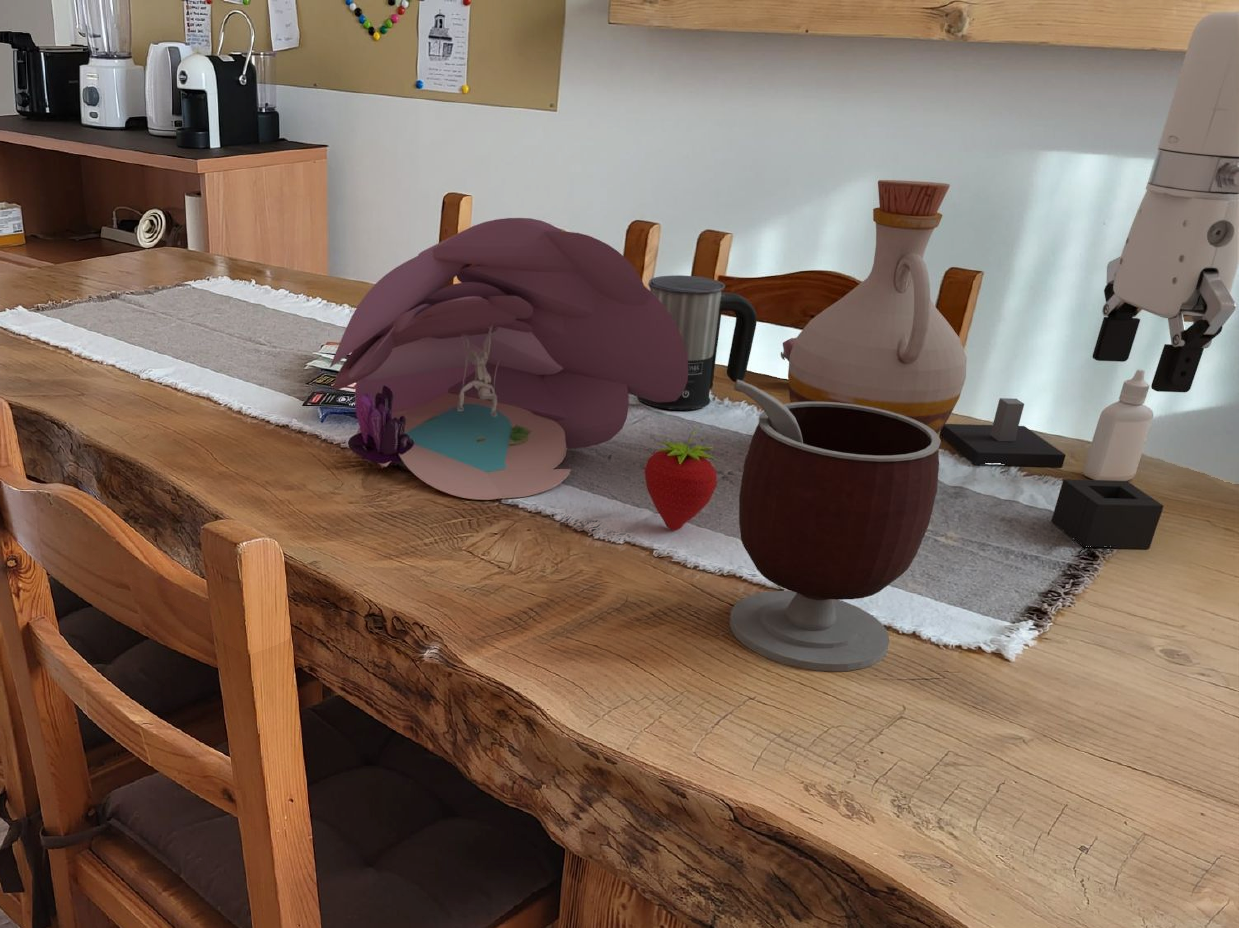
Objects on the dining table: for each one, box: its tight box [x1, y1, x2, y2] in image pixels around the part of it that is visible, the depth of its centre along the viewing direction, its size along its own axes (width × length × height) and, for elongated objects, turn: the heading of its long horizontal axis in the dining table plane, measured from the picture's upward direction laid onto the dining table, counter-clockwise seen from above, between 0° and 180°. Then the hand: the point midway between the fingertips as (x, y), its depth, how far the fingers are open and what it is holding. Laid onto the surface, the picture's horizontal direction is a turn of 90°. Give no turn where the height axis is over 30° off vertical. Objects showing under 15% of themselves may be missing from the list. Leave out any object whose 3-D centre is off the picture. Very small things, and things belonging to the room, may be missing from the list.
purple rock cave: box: [329, 217, 688, 501], centre depth 119 cm, size 35×24×28 cm
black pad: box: [1050, 478, 1165, 550], centre depth 113 cm, size 6×6×4 cm
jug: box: [787, 179, 967, 435], centre depth 121 cm, size 20×18×30 cm
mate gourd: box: [729, 380, 942, 673], centre depth 89 cm, size 16×14×20 cm
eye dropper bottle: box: [1082, 369, 1154, 481], centre depth 126 cm, size 4×6×12 cm
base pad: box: [939, 397, 1067, 468], centre depth 134 cm, size 10×10×6 cm
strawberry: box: [644, 427, 718, 531], centre depth 109 cm, size 6×8×10 cm
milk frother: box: [636, 274, 758, 411], centre depth 148 cm, size 14×16×15 cm
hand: (1138, 375), depth 106 cm, fingers open, 9 cm apart
